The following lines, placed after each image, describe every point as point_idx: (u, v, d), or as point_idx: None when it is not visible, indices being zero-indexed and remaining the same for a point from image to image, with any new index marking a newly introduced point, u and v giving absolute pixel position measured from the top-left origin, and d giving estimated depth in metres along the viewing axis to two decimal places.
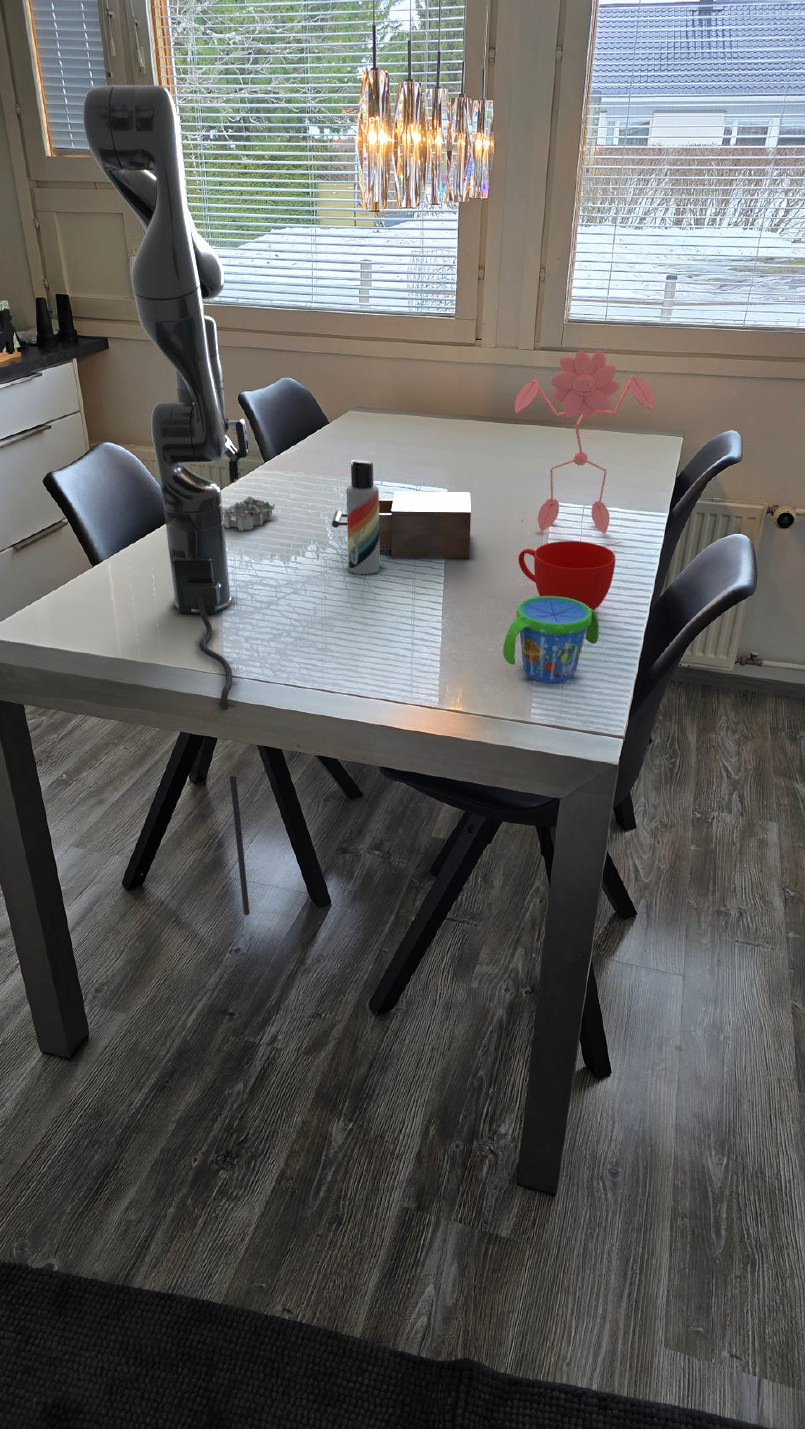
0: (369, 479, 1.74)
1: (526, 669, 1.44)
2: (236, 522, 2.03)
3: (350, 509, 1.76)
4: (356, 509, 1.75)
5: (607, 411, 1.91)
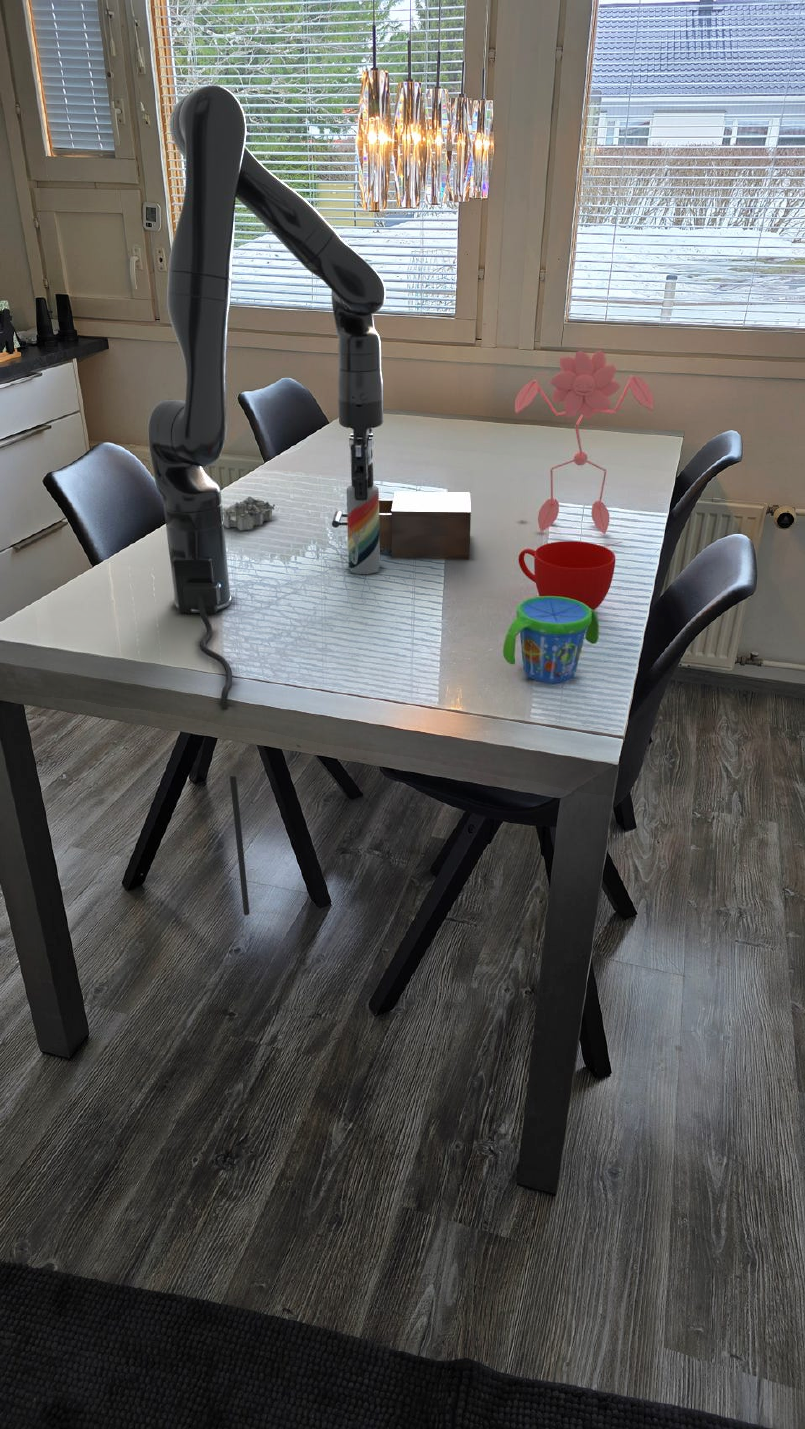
0: (369, 479, 1.74)
1: (526, 669, 1.44)
2: (236, 522, 2.03)
3: (350, 509, 1.76)
4: (356, 509, 1.75)
5: (607, 411, 1.91)
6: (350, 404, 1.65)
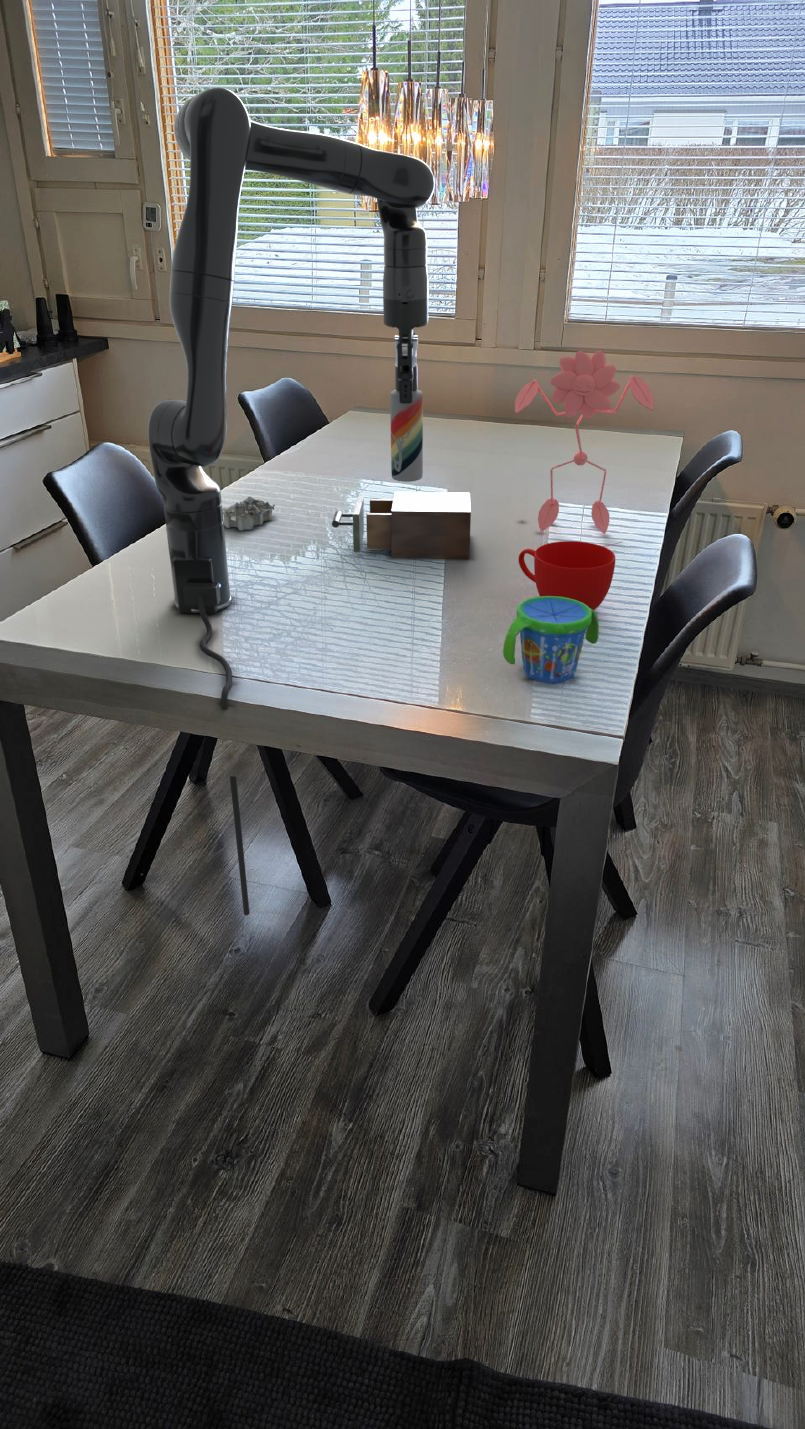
0: (414, 382, 1.72)
1: (526, 669, 1.44)
2: (236, 522, 2.03)
3: (394, 413, 1.74)
4: (400, 413, 1.73)
5: (607, 411, 1.91)
6: (396, 302, 1.64)
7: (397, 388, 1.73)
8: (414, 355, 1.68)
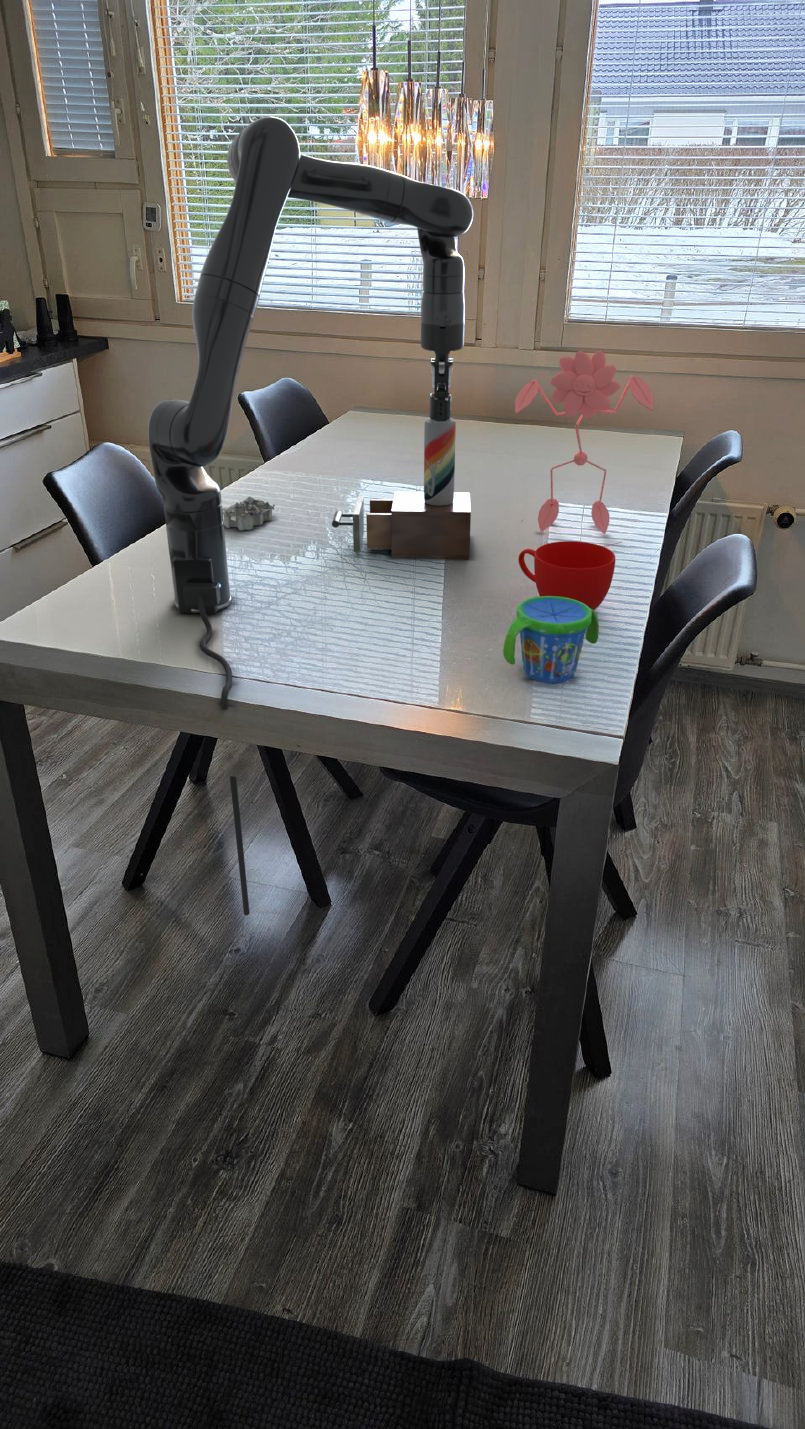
0: (447, 411, 1.79)
1: (526, 669, 1.44)
2: (236, 522, 2.03)
3: (428, 441, 1.81)
4: (434, 440, 1.80)
5: (607, 411, 1.91)
6: (434, 326, 1.70)
7: (431, 416, 1.80)
8: (450, 375, 1.74)
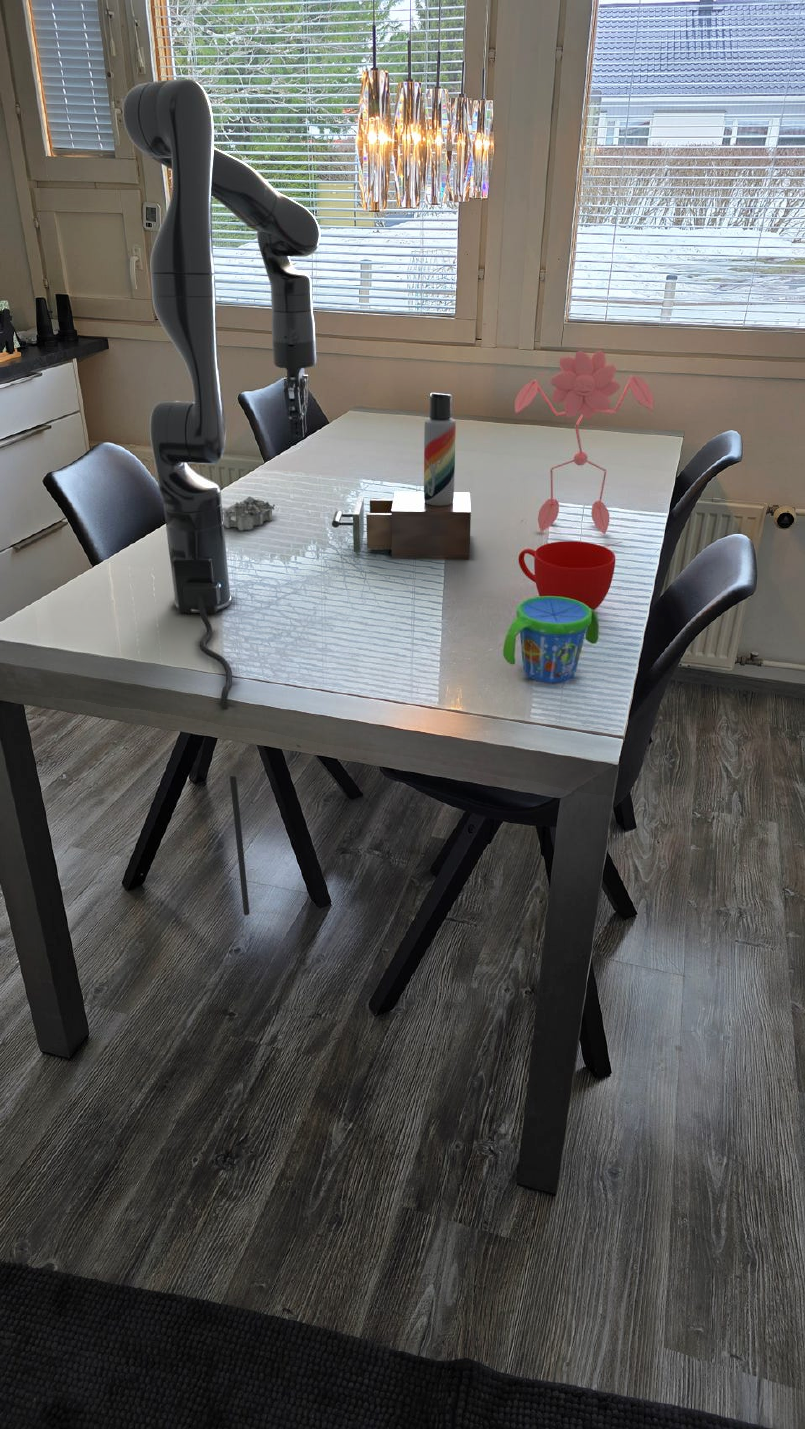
0: (447, 411, 1.79)
1: (526, 669, 1.44)
2: (236, 522, 2.03)
3: (428, 441, 1.81)
4: (434, 440, 1.80)
5: (607, 411, 1.91)
6: (283, 344, 1.73)
7: (431, 416, 1.80)
8: (303, 395, 1.78)
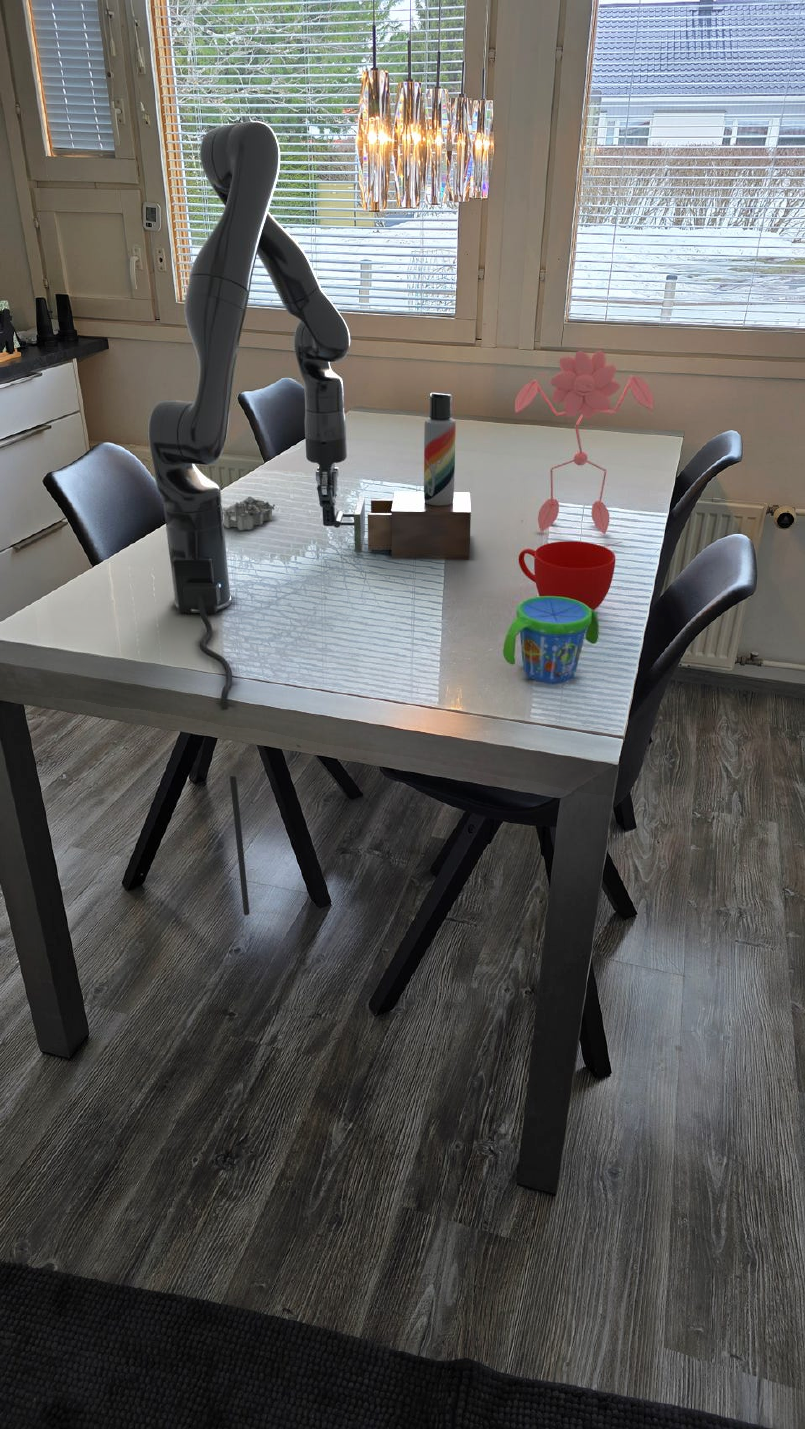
0: (447, 411, 1.79)
1: (526, 669, 1.44)
2: (236, 522, 2.03)
3: (428, 441, 1.81)
4: (434, 440, 1.80)
5: (607, 411, 1.91)
6: (316, 441, 1.81)
7: (431, 416, 1.80)
8: (334, 487, 1.87)
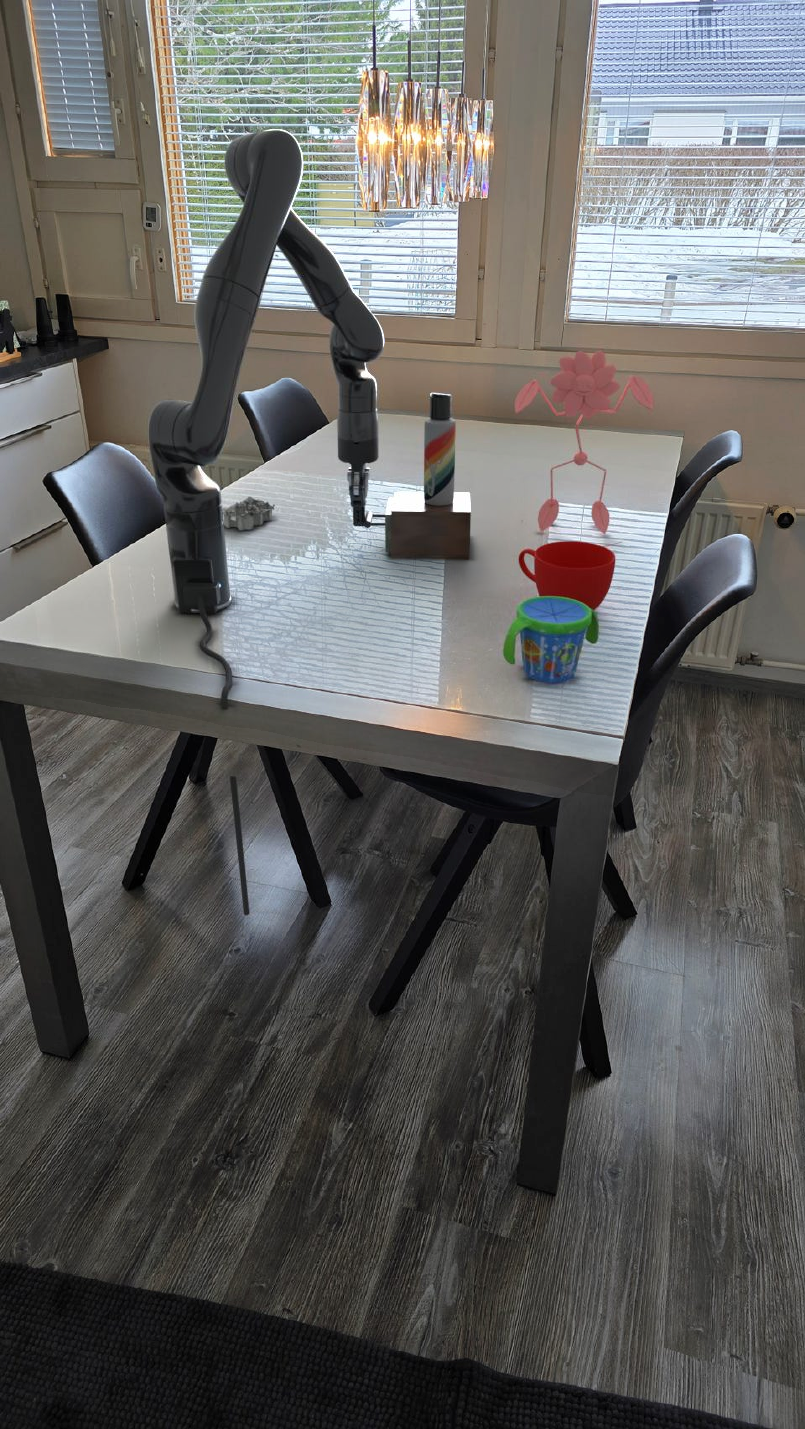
0: (447, 411, 1.79)
1: (526, 669, 1.44)
2: (236, 522, 2.03)
3: (428, 441, 1.81)
4: (434, 440, 1.80)
5: (607, 411, 1.91)
6: (348, 442, 1.81)
7: (431, 416, 1.80)
8: (365, 488, 1.86)
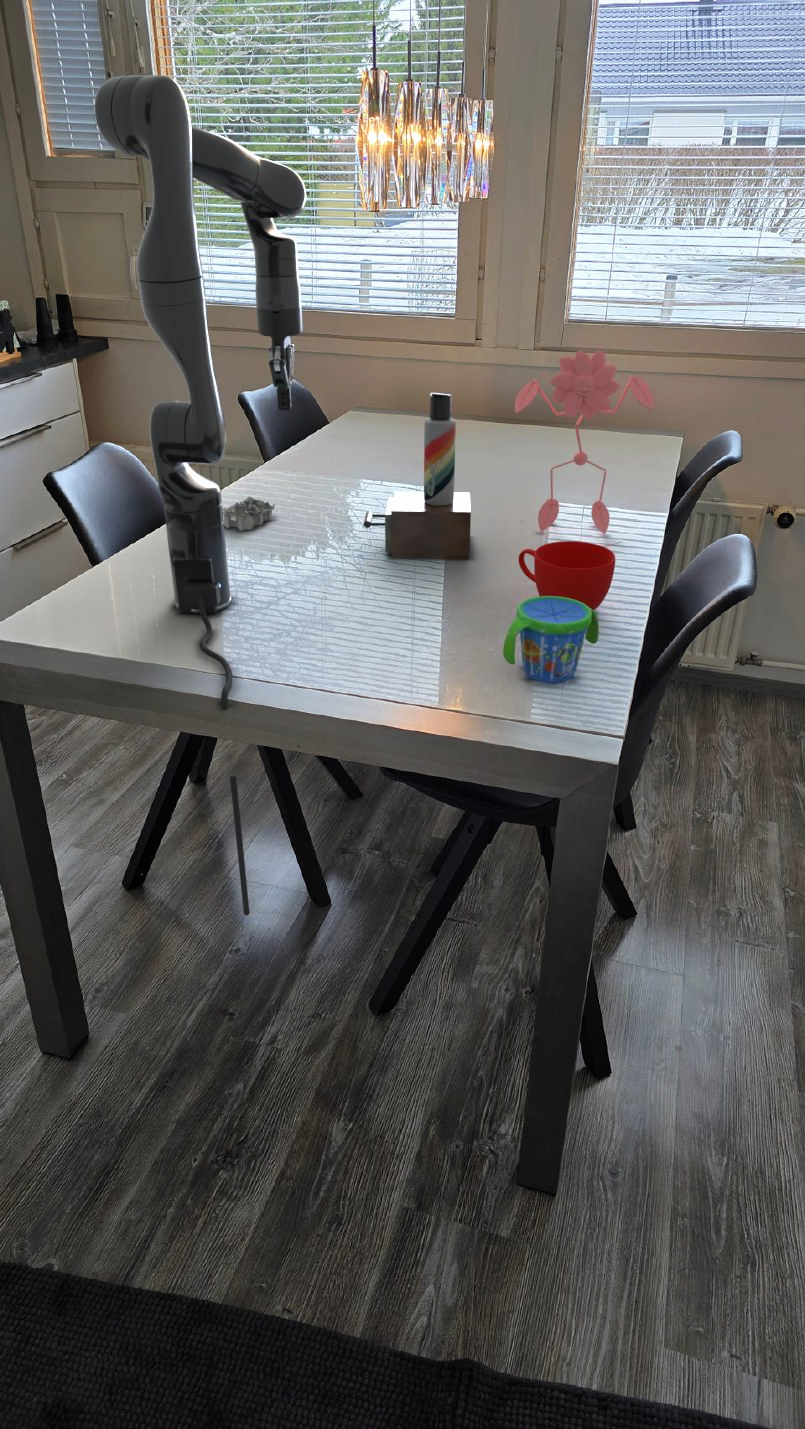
0: (447, 411, 1.79)
1: (526, 669, 1.44)
2: (236, 522, 2.03)
3: (428, 441, 1.81)
4: (434, 440, 1.80)
5: (607, 411, 1.91)
6: (267, 311, 1.65)
7: (431, 416, 1.80)
8: (289, 365, 1.71)
